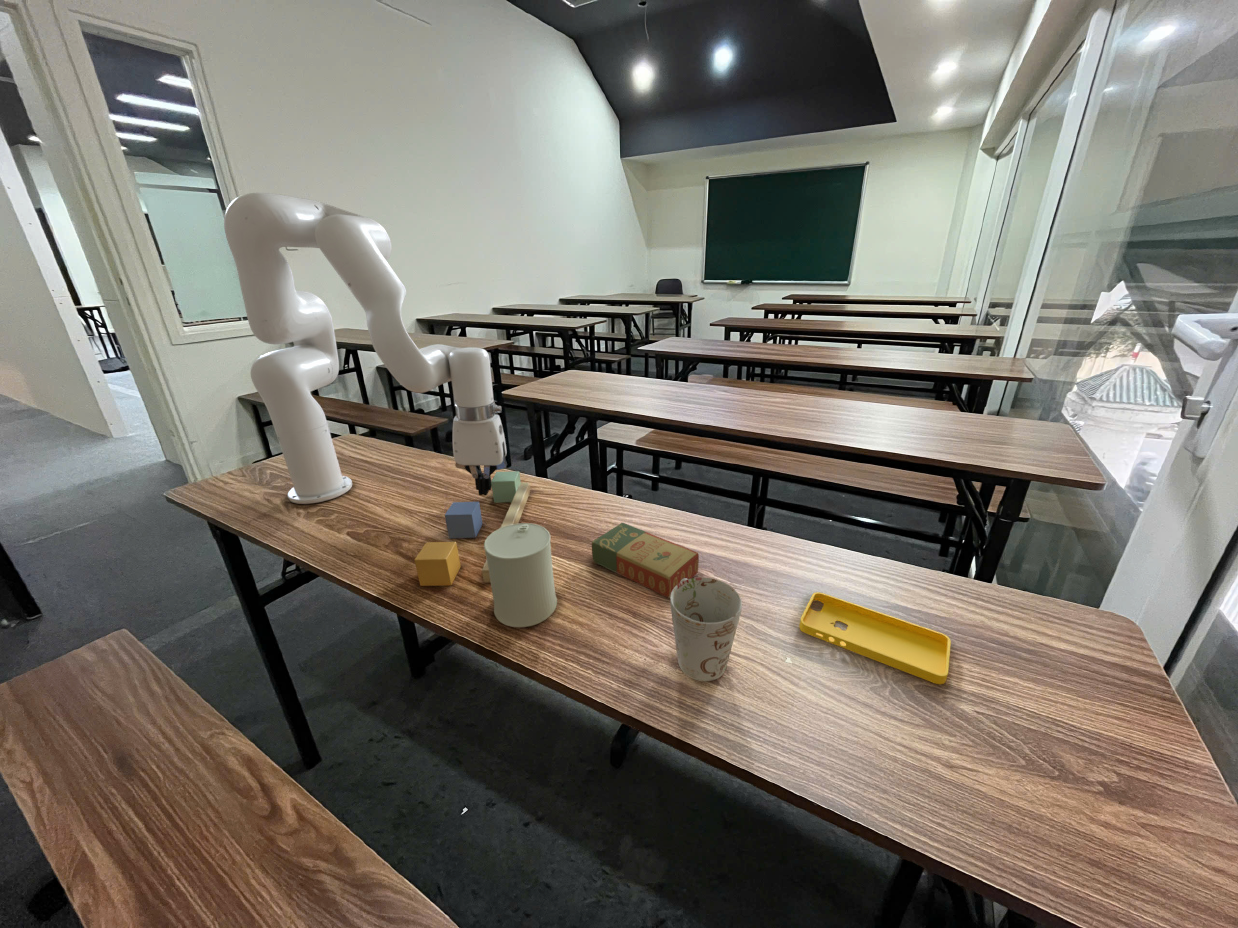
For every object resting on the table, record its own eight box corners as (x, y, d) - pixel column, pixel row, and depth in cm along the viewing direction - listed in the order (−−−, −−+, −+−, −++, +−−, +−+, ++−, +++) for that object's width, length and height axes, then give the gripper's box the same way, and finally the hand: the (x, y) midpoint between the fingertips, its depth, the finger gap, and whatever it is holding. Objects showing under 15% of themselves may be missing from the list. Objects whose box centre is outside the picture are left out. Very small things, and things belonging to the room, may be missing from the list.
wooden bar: (521, 492, 106) (520, 482, 105) (530, 492, 106) (529, 482, 105) (483, 582, 76) (481, 570, 75) (496, 582, 76) (494, 570, 75)
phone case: (944, 687, 56) (947, 679, 55) (797, 630, 65) (798, 622, 64) (948, 643, 62) (951, 636, 62) (813, 597, 71) (814, 589, 71)
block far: (493, 502, 102) (490, 481, 100) (499, 492, 106) (496, 471, 104) (517, 502, 102) (514, 481, 100) (521, 491, 106) (519, 471, 104)
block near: (420, 586, 76) (414, 559, 74) (431, 567, 81) (425, 542, 79) (451, 585, 76) (446, 559, 74) (461, 566, 81) (456, 541, 79)
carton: (669, 600, 71) (669, 577, 70) (590, 561, 81) (589, 540, 79) (698, 573, 77) (699, 551, 75) (622, 540, 87) (621, 519, 85)
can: (562, 587, 75) (556, 520, 70) (549, 629, 66) (541, 557, 62) (505, 584, 76) (495, 518, 71) (485, 626, 67) (472, 554, 62)
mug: (684, 697, 56) (687, 630, 52) (648, 624, 67) (648, 565, 63) (748, 679, 58) (755, 614, 54) (703, 612, 69) (706, 553, 65)
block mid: (448, 538, 89) (444, 514, 87) (457, 524, 93) (453, 502, 91) (475, 537, 89) (471, 514, 87) (482, 524, 93) (479, 501, 91)
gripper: (516, 406, 100) (522, 485, 107) (444, 405, 100) (455, 484, 107) (508, 417, 93) (515, 501, 100) (431, 416, 93) (444, 500, 100)
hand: (484, 492), depth 103 cm, fingers closed
